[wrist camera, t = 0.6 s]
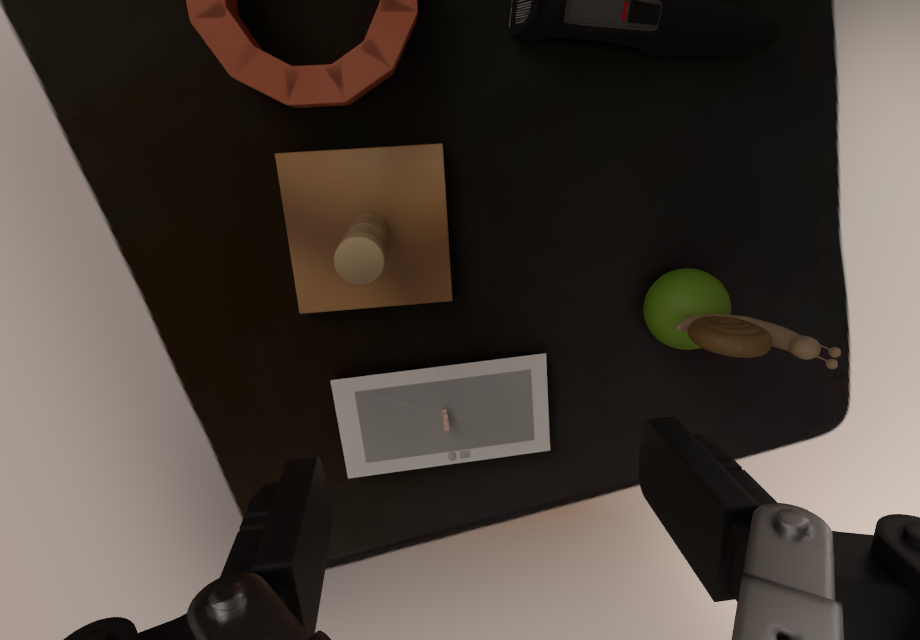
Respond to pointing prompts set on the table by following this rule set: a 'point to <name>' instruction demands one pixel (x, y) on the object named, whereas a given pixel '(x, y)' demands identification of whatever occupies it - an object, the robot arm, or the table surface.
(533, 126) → the table surface
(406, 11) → the ring
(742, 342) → the snail figurine
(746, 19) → the electric trimmer
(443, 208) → the stand
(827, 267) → the table surface
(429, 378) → the touchpad
